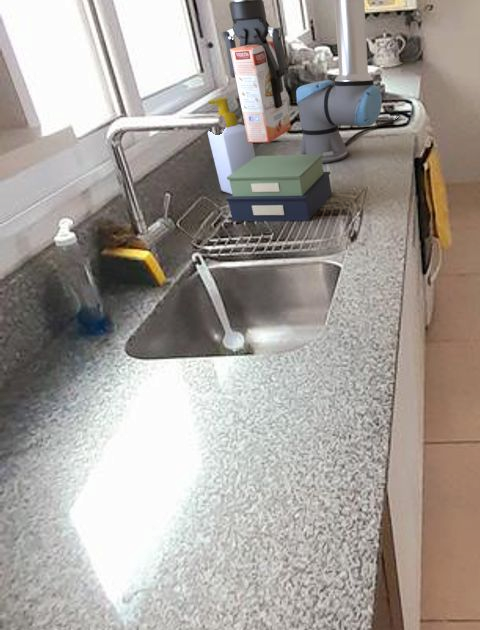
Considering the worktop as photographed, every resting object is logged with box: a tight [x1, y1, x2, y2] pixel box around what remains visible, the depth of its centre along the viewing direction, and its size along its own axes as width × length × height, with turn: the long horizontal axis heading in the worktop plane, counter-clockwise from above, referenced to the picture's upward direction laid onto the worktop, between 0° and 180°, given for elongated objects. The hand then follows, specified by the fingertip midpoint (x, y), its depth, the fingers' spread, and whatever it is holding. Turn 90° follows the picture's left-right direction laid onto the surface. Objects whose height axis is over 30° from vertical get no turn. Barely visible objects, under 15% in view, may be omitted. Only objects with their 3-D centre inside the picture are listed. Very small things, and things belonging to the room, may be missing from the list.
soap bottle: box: [207, 97, 256, 195], centre depth 166 cm, size 9×9×25 cm
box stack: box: [225, 154, 333, 222], centre depth 155 cm, size 21×21×11 cm
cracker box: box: [230, 40, 292, 144], centre depth 143 cm, size 14×6×21 cm, turn 169°
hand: (265, 107), depth 145 cm, fingers closed on cracker box, 6 cm apart
